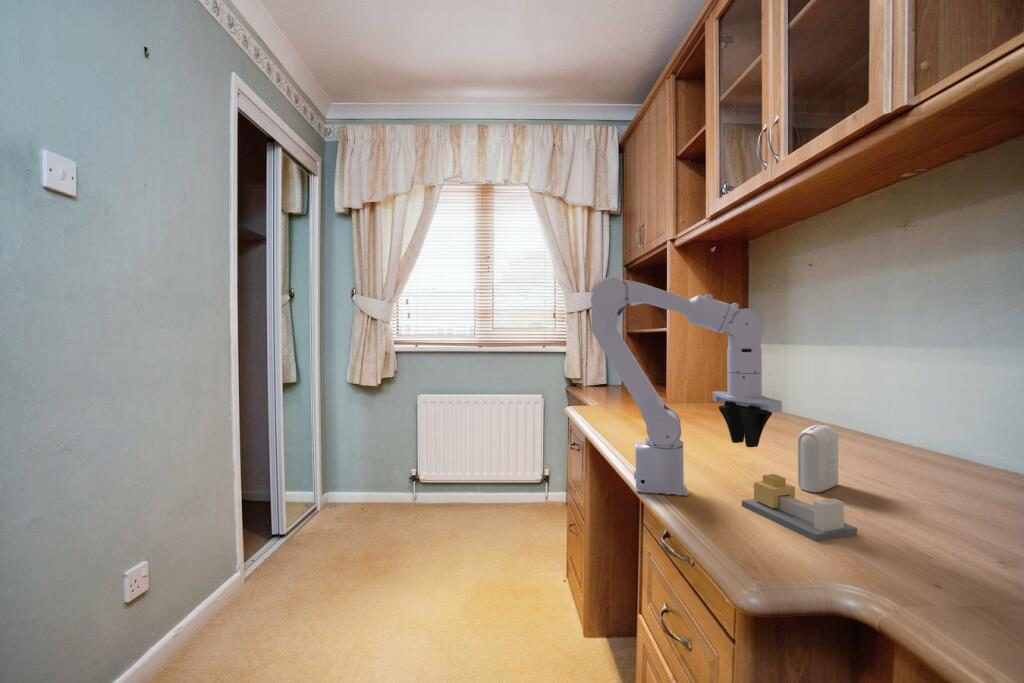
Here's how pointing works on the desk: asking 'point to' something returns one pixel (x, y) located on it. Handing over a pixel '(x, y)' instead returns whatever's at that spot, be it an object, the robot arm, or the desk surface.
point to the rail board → (797, 522)
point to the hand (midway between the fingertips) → (744, 444)
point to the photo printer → (817, 458)
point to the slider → (772, 490)
